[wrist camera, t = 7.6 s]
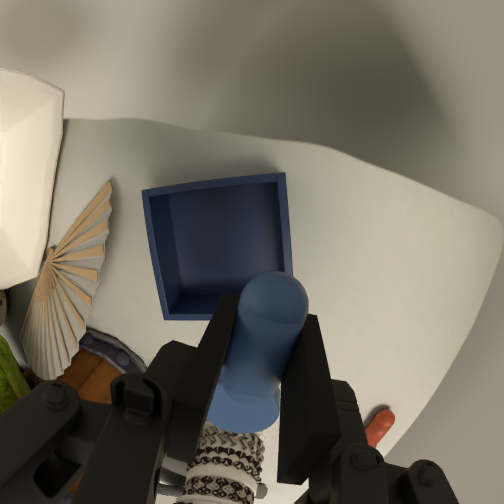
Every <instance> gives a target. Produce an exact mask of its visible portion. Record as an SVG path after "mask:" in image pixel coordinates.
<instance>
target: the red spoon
mask: <svg viewBox="0 0 504 504" xmlns="http://www.w3.org/2000/svg"><path fill="white" fill-rule="evenodd" d="M394 421H395V416H394V414H393V412H392V411H390V410H382V411H380V412H379V413H378V414H377V415H376V416H375V417H374V419H373V420H372V422H371V423H370V424H369V426H368V427H367V428H366V430H365V433H366V437H367V441H368V445H370V446H372V447H374V448H376V445H377V443H378V442H379V441H380V440H381V439H382V438H383V436H384V435H385V434H386V433H387V431H388V430H389V429H390V428H391V426H392V425H393V423H394Z"/></svg>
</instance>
